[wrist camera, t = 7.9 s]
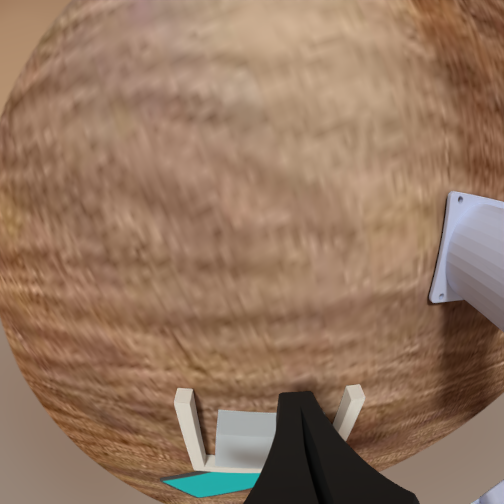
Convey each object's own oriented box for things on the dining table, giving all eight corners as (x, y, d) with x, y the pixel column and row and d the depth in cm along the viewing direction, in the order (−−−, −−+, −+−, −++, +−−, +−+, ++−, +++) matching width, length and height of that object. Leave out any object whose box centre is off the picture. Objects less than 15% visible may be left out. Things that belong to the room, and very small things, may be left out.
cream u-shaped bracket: (359, 384, 19) (365, 397, 18) (329, 455, 23) (332, 466, 22) (177, 387, 19) (173, 402, 18) (195, 458, 23) (194, 470, 21)
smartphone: (158, 480, 25) (251, 460, 22) (159, 475, 26) (251, 453, 23) (198, 498, 27) (289, 478, 24) (198, 494, 28) (288, 473, 25)
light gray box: (323, 409, 21) (330, 434, 18) (307, 444, 23) (311, 467, 20) (219, 406, 20) (216, 433, 18) (217, 441, 22) (215, 465, 19)
